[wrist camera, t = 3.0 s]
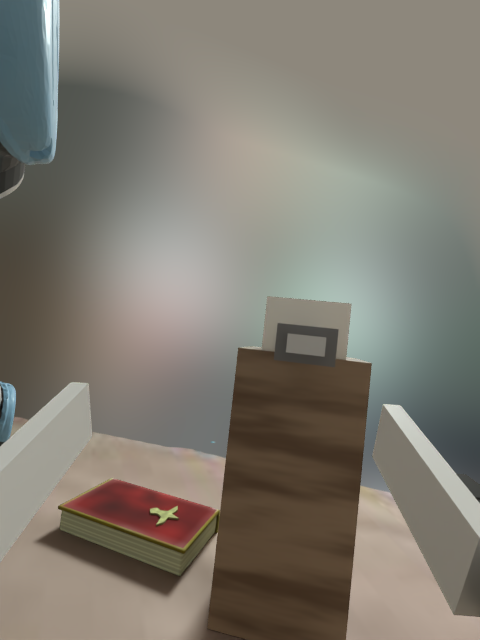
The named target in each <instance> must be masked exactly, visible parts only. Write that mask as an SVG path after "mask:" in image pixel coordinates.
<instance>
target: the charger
mask: <svg viewBox="0 0 480 640" xmlns="http://www.w3.org/2000/svg"><path fill="white" fill-rule="evenodd" d="M266 305H267V306H266V314H265V324H264V333H263V341H262V350H265V351H273V352H274V360H279V361H287V362H295V363H303V364H311V365H320V366H328V367H335V361H336V359H341V360H346V355H347V345H348V334H349V324H350V313H351V304H349V303H337V302H326V301H315V300H304V299H292V298H279V297H270V296H268V297H267V304H266Z"/></svg>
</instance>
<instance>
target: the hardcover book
mask: <svg viewBox="0 0 480 640" xmlns="http://www.w3.org/2000/svg"><path fill="white" fill-rule="evenodd" d="M58 509H60V510H62V514H61V522H60V530H62V531H65V532H67V533H70V534H72V535H75V536H77V537H80V538H83V539H85V540H88V541H90V542H93V543H95V544H98V545H101V546H103V547H106V548H108V549H111V550H113V551H116V552H119V553H121V554H124V555H126V556H129V557H131V558H134V559H136V560H139V561H142V562H144V563H147V564H149V565H152V566H154V567H157V568H160V569H162V570H165V571H167V572H170V573H172V574H175V575H178V576H181V574H182V573H183V572H184V571H185V569H186V568H187V567H188V565H189V564H190V563H191V562H192V560H193V559H194V558H195V557H196V555H197V554H198V553H199V552H200V550H201V549H202V548H203V546H204V545H205V544H206V543H207V541H208V540H209V539H210V538H211V536H212V535H213V534H214V532H215V533H217V532H218V527H219V518H220V510H217V509H214V508H211V507H207V506H204V505H201V504H197V503H194V502H191V501H187V500H184V499H181V498H177V497H174V496H171V495H167V494H164V493H161V492H157V491H154V490H151V489H147V488H144V487H141V486H137V485H134V484H131V483H127V482H124V481H121V480H117V479H114V478H111V479H109V480H107V481H105V482H103V483H101V484H100V485H98V486H96V487H94V488H92V489H90V490H88V491H86V492H84V493H82V494H81V495H79V496H77V497H75V498H73V499H71V500H69V501H67V502H65V503H63V504H61V505H60V506H58Z"/></svg>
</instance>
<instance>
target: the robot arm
mask: <svg viewBox="0 0 480 640" xmlns="http://www.w3.org/2000/svg"><path fill="white" fill-rule="evenodd" d="M58 77H59V0H0V198H2V197H4V196H6V195H8V194H9V193H11V192H13V191H14V190H15V189H16V188H17V187H18V186H19V185H20V184H21V182H22V179H23V177H24V171H25V164H28V165H34V164H36V163H37V164H46V163H50V162H51V161H52V160H53V158H54V155H55V149H56V136H57V115H58V112H57V106H58ZM15 403H16V392H15V388H14V387H13V386H12V385H11V384H9V383H3V382H0V562H1V560H2V559H3V557H4V556H5V555H6V553H7V552H8V551H9V549H10V548H11V547H12V545H13V544H14V542H15V541H16V540H17V538H18V537H19V536H20V534H21V533H22V532H23V530H24V529H25V527H26V526H27V525H28V523H29V522H30V521H31V519H32V518H33V517H34V515H35V514H36V512H37V511H38V510H39V508H40V507H41V506H42V504H43V503H44V502H45V500H46V499H47V497H48V496H49V495H50V493H51V492H52V491H53V489H54V488H55V487H56V485H57V484H58V482H59V481H60V480H61V478H62V477H63V476H64V474H65V473H66V471H67V470H68V469H69V467H70V466H71V465H72V463H73V462H74V461H75V459H76V458H77V456H78V455H79V454H80V452H81V451H82V450H83V448H84V447H85V446H86V444H87V443H88V441H89V440H90V439H91V437H92V427H91V413H90V398H89V384H88V383H77V382H71V383H70V384H69V385H68V386H67V387H65V388H64V389H63V390H62V391H61V392H60V393H59V394H58V395H57V396H56V397H54V398H53V399H52V400H51V401H50V402H49V403H48V404H47V405H46V406H44V407H43V408H42V409H41V410H40V411H39V412H38V413H37V414H36V415H34V416H33V417H32V418H31V419H30V420H29V421H28V422H27V423H26V424H25V425H23V426H22V427H21V428H20V429H19V430H18V431H17V432H16V433H15V434H13V435H12V436H11V437H10V434H11V429H12V424H13V419H14V412H15ZM372 457H373V459H374V461H375V463H376V465H377V467H378V469H379V471H380V473H381V474H382V477H383V478H384V480H385V482H386V484H387V486H388V488H389V490H390V492H391V494H392V496H393V498H394V500H395V502H396V504H397V506H398V508H399V509H400V511H401V513H402V515H403V517H404V519H405V521H406V523H407V525H408V527H409V529H410V531H411V533H412V535H413V537H414V539H415V540H416V542H417V544H418V546H419V548H420V550H421V552H422V554H423V556H424V558H425V560H426V562H427V564H428V566H429V568H430V570H431V571H432V573H433V575H434V577H435V579H436V581H437V583H438V585H439V587H440V589H441V591H442V593H443V595H444V597H445V599H446V601H447V602H448V604H449V606H450V608H451V610H452V612H453V614H454V615H463V616H476V617H480V484H478V483H477V482H475V481H474V480H473V479H471V478H470V477H469V476H467V475H464V474H456V473H455V472H454V471H453V470H452V468H451V467H450V466H449V465H448V464H447V462H446V461H445V460H444V459H443V457H442V456H441V455H440V454H439V452H438V451H437V450H436V449H435V447H434V446H433V445H432V444H431V443H430V441H429V440H428V439H427V438H426V436H425V435H424V434H423V433H422V431H421V430H420V429H419V428H418V426H417V425H416V424H415V423H414V422H413V420H412V419H411V418H410V417H409V415H408V414H407V413H406V412H405V411H404V409H403V408H402V407H401V406H400V405H388V404H383V406H382V411H381V416H380V422H379V426H378V431H377V437H376V441H375V446H374V451H373V456H372Z"/></svg>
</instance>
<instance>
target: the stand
mask: <svg viewBox="0 0 480 640" xmlns="http://www.w3.org/2000/svg"><path fill="white" fill-rule="evenodd" d="M371 365H372V364H371V363H369V362H365V361H362V360H359V359H356V358H347V357H346V360H341V359H336V361H335V367H328V366H320V365H311V364H303V363H295V362H287V361H279V360H274V352H273V351H265V350H262V347H253V346H250V347H240V348H238V356H237V366H236V374H235V383H234V392H233V401H232V410H231V419H230V428H229V438H228V446H227V455H226V464H225V473H224V482H223V491H222V500H221V509H220V518H219V527H218V536H217V545H216V554H215V563H214V572H213V581H212V590H211V599H210V608H209V617H208V626H207V629H210V630H214V631H218V632H221V633H225V634H228V635H232V636H236V637H239V638H243V639H247V640H346V632H347V621H348V610H349V600H350V589H351V578H352V568H353V557H354V546H355V536H356V525H357V514H358V504H359V493H360V482H361V472H362V461H363V450H364V440H365V429H366V419H367V418H366V417H367V407H368V397H369V387H370V376H371Z"/></svg>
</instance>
